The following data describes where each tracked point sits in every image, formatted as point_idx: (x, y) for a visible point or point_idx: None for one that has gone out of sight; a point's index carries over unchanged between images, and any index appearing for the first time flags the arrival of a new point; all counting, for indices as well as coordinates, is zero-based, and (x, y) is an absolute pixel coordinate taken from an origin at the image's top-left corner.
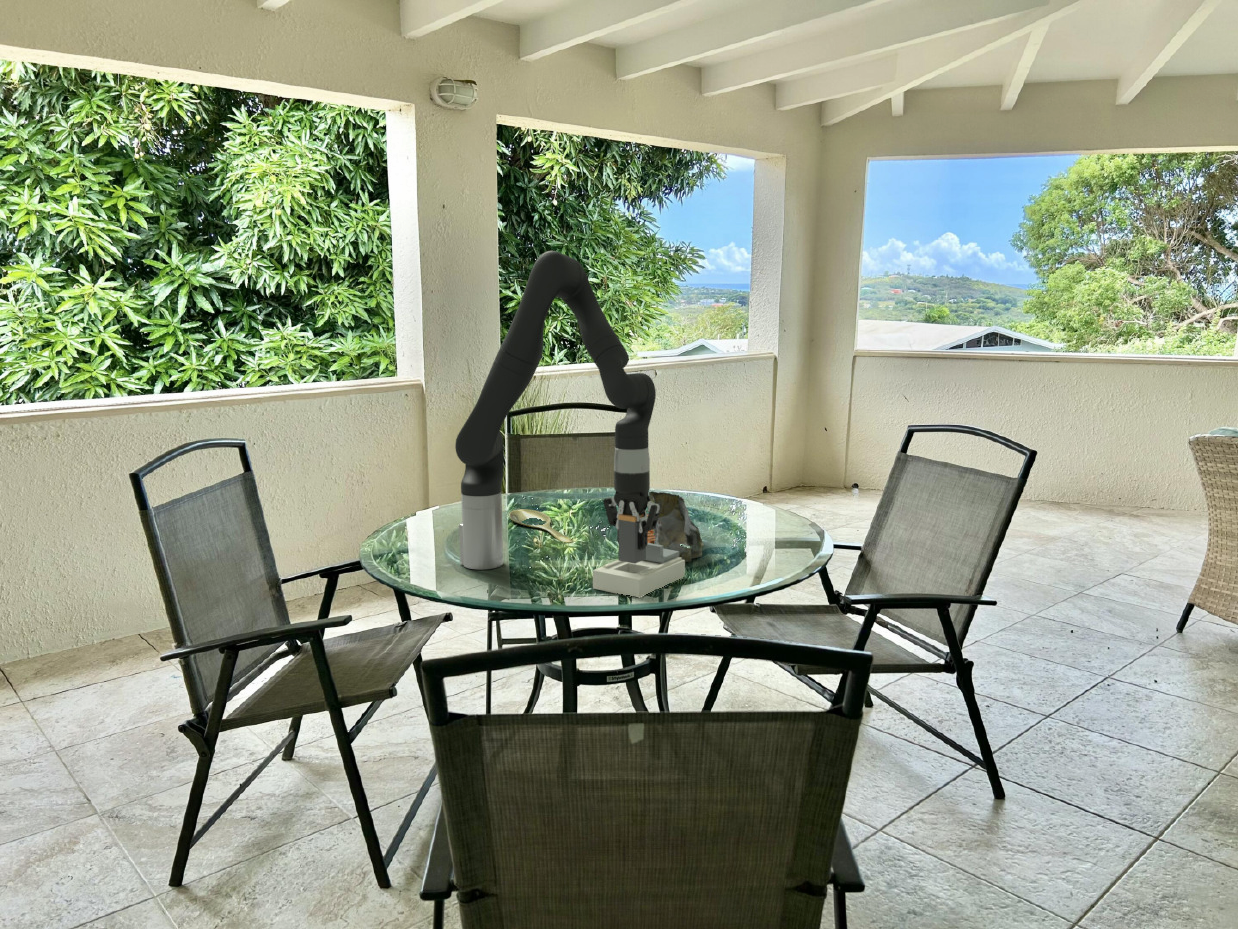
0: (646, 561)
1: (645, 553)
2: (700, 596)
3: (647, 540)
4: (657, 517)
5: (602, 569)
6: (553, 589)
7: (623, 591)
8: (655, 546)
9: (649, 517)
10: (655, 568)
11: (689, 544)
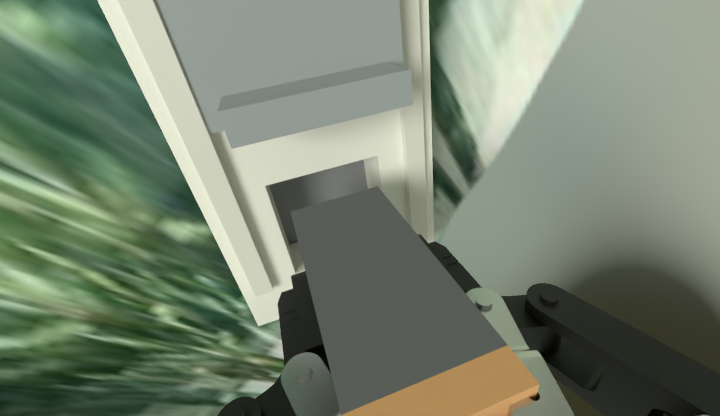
0: None
1: (388, 201)
2: (527, 96)
3: (455, 258)
4: (653, 352)
5: (272, 300)
6: (192, 358)
7: None
8: (380, 112)
9: (619, 411)
10: (423, 174)
11: None
